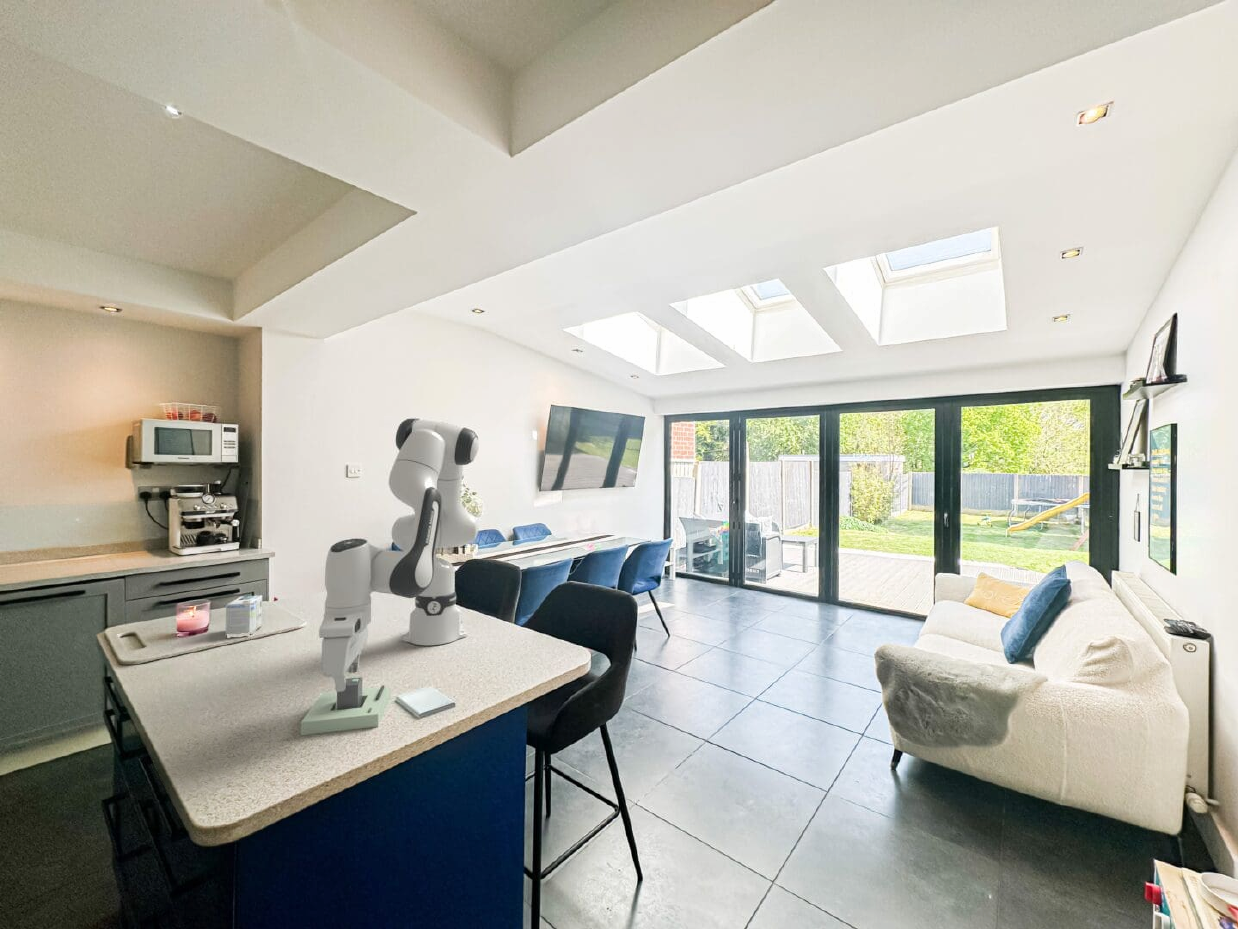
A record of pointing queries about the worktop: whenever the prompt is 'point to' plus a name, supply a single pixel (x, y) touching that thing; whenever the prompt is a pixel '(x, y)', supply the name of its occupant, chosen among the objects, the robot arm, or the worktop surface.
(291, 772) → the worktop surface
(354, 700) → the plug
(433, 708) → the hard drive
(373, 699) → the outlet plate
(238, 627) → the light bulb box
